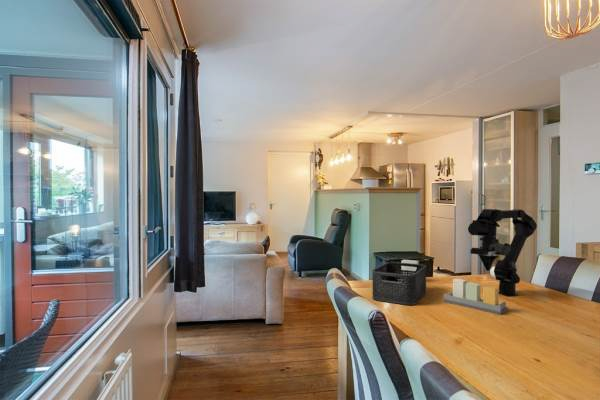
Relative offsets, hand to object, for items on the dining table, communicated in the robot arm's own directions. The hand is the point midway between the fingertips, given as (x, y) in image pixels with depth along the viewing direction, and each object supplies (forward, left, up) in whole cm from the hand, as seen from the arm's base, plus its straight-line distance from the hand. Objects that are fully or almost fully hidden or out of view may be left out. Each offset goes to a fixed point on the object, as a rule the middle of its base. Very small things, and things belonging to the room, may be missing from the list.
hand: (487, 270), depth 156 cm
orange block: (+12, +14, -11) cm, 21 cm away
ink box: (+16, -36, -13) cm, 42 cm away
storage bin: (+35, -16, -13) cm, 41 cm away
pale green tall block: (+15, +7, -11) cm, 20 cm away
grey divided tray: (+13, +7, -13) cm, 20 cm away
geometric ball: (-34, -27, -13) cm, 45 cm away
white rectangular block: (+15, 0, -11) cm, 19 cm away
